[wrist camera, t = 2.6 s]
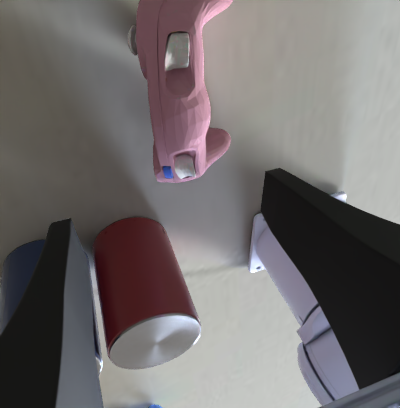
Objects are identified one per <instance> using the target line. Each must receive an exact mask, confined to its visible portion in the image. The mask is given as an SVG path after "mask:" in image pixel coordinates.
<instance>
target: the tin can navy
mask: <svg viewBox="0 0 400 408" xmlns="http://www.w3.org/2000/svg"><path fill="white" fill-rule="evenodd" d="M45 240H46V239H45ZM45 240H38V241H33V242H30V243H27V244H24V245H22V246H20V247H18V248H17V249H15V250H14V251H13V252H12V253H10V254H9V256H8V257H7V258H6V260H5V261H4V264H3V268H2V276H1V286H0V335H1V333H2V332H3V330H4V328H5V327H6V325H7V323H8V322H9V320H10V318H11V316H12V315H13V313H14V311H15V309H16V307H17V305H18V303H19V301H20V299H21V297H22V295H23V293H24V291H25V289H26V287H27V285H28V283H29V281H30V278H31V276H32V274H33V271H34V269H35V267H36V264H37V262H38V259H39V257H40V254H41V251H42V248H43V246H44V243H45ZM83 251H84V250H83ZM84 253H85V252H84ZM85 256H86V259H87V265H88V270H89V276H90V282H91V295H92V313H93V333H94V348H95V357H96V364H97V370H98V376H99V374H100V372H101V369H102V365H103V362H102V354H101V347H100V339H99V332H98V324H97V317H96V310H95V302H94V295H93V288H92V280H91V273H90V265H89V259H88V256H87V254H86V253H85Z"/></svg>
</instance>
